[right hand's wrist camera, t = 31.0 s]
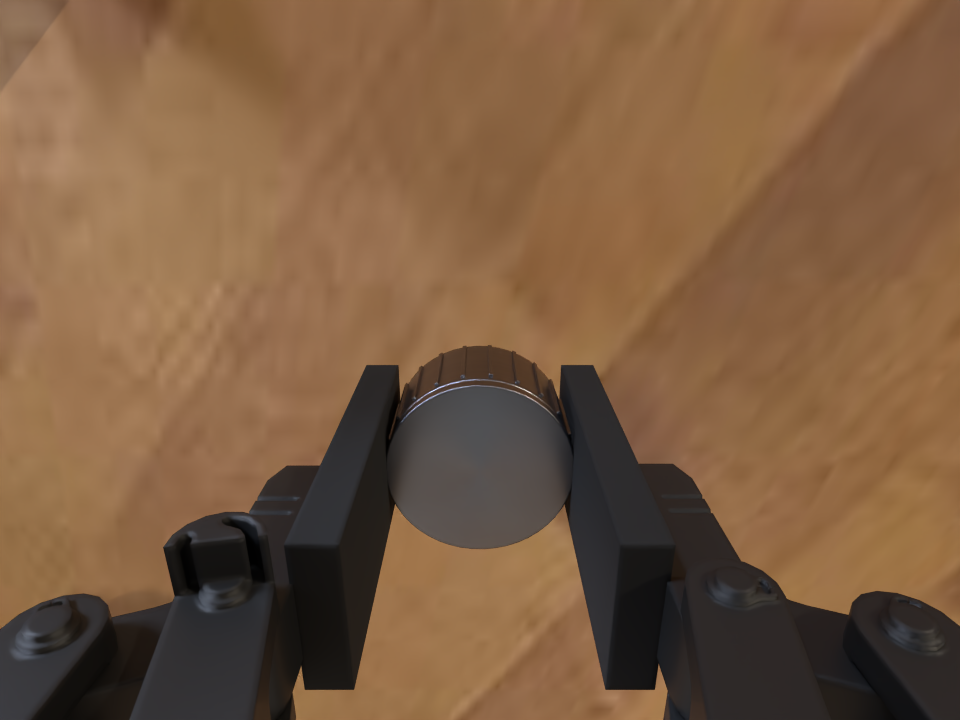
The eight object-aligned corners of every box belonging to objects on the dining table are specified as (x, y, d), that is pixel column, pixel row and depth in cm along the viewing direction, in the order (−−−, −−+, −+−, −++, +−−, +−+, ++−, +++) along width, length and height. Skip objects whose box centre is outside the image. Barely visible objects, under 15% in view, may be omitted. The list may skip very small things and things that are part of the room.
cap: (416, 502, 16) (406, 563, 13) (379, 357, 14) (361, 400, 12) (572, 479, 15) (587, 537, 13) (551, 329, 14) (564, 367, 12)
